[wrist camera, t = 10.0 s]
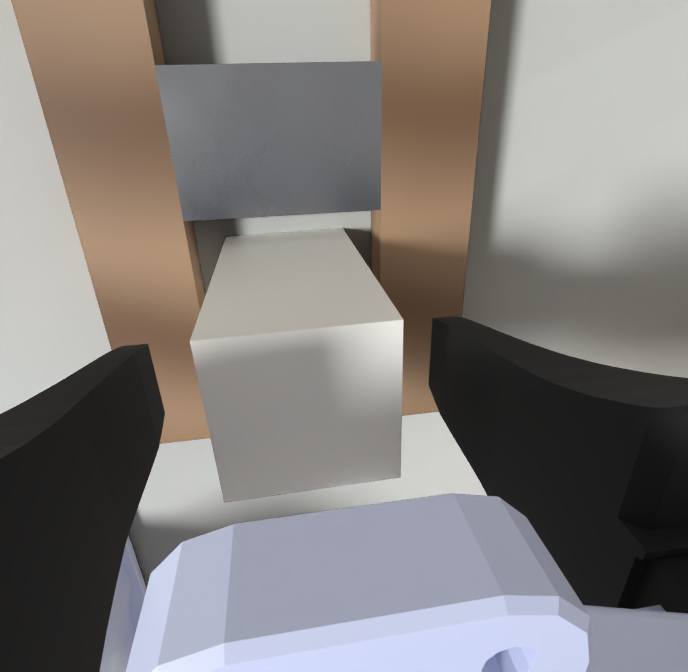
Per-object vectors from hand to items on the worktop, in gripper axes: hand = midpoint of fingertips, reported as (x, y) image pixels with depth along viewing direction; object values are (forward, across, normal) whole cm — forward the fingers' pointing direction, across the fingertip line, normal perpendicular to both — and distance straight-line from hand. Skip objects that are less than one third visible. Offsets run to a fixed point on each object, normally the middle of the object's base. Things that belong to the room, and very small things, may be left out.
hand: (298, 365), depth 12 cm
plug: (+6, 0, 0) cm, 6 cm away
